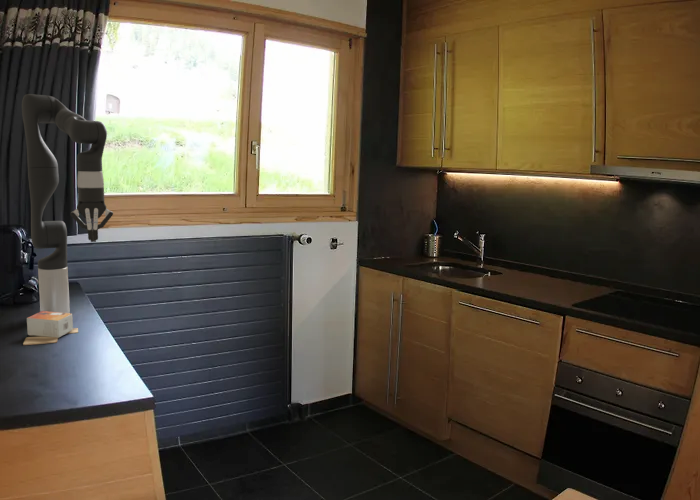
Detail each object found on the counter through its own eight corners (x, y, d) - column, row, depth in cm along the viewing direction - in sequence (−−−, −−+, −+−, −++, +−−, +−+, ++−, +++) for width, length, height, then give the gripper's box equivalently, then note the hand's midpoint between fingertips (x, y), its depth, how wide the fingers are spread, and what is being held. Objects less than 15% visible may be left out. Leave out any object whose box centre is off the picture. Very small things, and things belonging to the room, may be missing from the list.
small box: (58, 320, 190) (25, 317, 191) (59, 338, 191) (26, 335, 192) (72, 313, 198) (41, 310, 199) (73, 329, 199) (42, 327, 200)
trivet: (26, 338, 191) (26, 337, 191) (58, 336, 194) (58, 334, 194) (23, 345, 184) (23, 343, 184) (56, 342, 187) (56, 341, 187)
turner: (28, 337, 192) (28, 334, 192) (29, 333, 197) (29, 330, 197) (78, 333, 198) (78, 330, 198) (77, 329, 203) (77, 326, 202)
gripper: (113, 185, 199) (115, 239, 201) (68, 185, 194) (71, 240, 197) (113, 186, 192) (115, 242, 194) (66, 186, 187) (69, 243, 190)
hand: (93, 241), depth 196 cm, fingers closed
